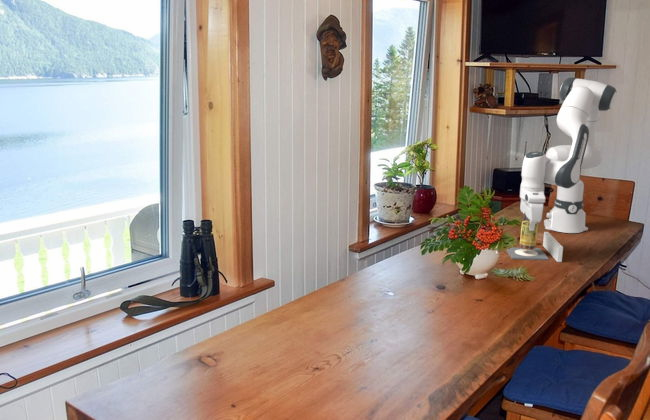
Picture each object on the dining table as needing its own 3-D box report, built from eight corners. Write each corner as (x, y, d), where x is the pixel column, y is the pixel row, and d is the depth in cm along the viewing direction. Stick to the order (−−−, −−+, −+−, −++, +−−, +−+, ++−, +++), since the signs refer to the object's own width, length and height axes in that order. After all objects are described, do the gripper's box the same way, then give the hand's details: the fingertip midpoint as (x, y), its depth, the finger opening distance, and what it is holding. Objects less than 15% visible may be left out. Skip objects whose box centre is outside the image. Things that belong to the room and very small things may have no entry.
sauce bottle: (518, 249, 245) (521, 200, 241) (520, 245, 251) (523, 197, 246) (535, 251, 243) (539, 201, 238) (537, 246, 248) (540, 198, 244)
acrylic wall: (542, 245, 259) (544, 231, 258) (546, 245, 259) (548, 231, 258) (557, 262, 238) (558, 247, 236) (561, 262, 238) (563, 247, 236)
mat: (505, 248, 255) (505, 246, 255) (539, 249, 254) (539, 247, 253) (512, 259, 241) (512, 257, 241) (548, 260, 240) (548, 258, 240)
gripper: (517, 188, 252) (515, 221, 255) (529, 199, 232) (526, 234, 235) (533, 188, 251) (530, 221, 254) (546, 199, 231) (543, 234, 235)
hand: (529, 227), depth 245 cm, fingers closed on sauce bottle, 6 cm apart
